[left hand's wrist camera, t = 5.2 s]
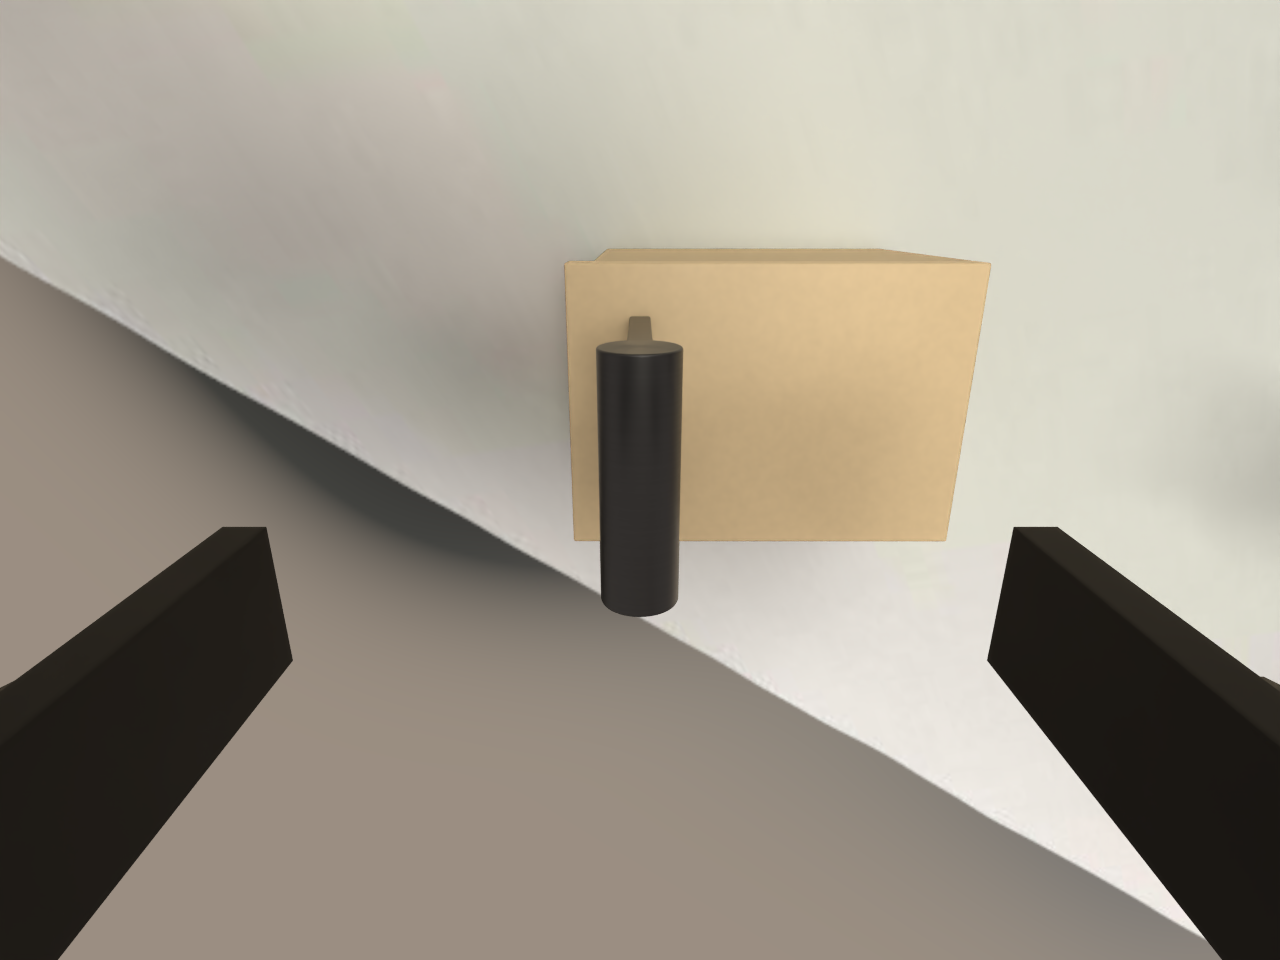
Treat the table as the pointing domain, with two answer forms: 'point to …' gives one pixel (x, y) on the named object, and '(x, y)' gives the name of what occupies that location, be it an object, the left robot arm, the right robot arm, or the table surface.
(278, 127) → the table surface
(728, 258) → the chest
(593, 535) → the lid
